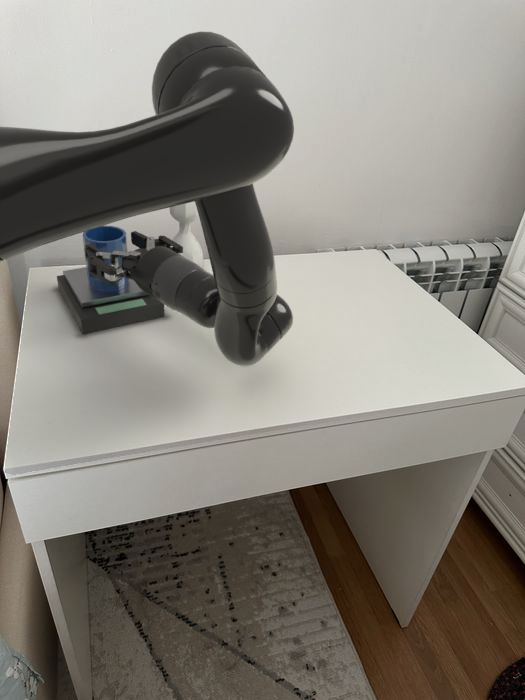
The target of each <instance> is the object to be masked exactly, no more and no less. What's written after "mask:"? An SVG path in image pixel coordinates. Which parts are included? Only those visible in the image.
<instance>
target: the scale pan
mask: <svg viewBox="0 0 525 700" xmlns="http://www.w3.org/2000/svg"><path fill="white" fill-rule="evenodd" d="M62 275H63V276H64V277H65V279H66V281H67V283H68V284H69V286H70V288H71V289H72V291H73V293H74V295H75V296H76V298H77V300H78V302H79V303H80V305H81V307H82V308H84V307H89V306H94V305H99V304H104V303H109V302H114V301H119V300H125V299H130V298H135V297H140V296H145V295H149V294H147V293H145V292H144V291H142V290H141V289H140V288H139V286H138V285H137V284H136V282H135V281H134V280H132V279H129V284H128V286H127V287H125V288H124V289H121V290H118V291H114V292H101V291H97V290H94V289H92V288H91V287H90V286H89V283H88V277H87V269H86V266H84V267H79V268H72V269H66V270H62Z"/></svg>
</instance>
